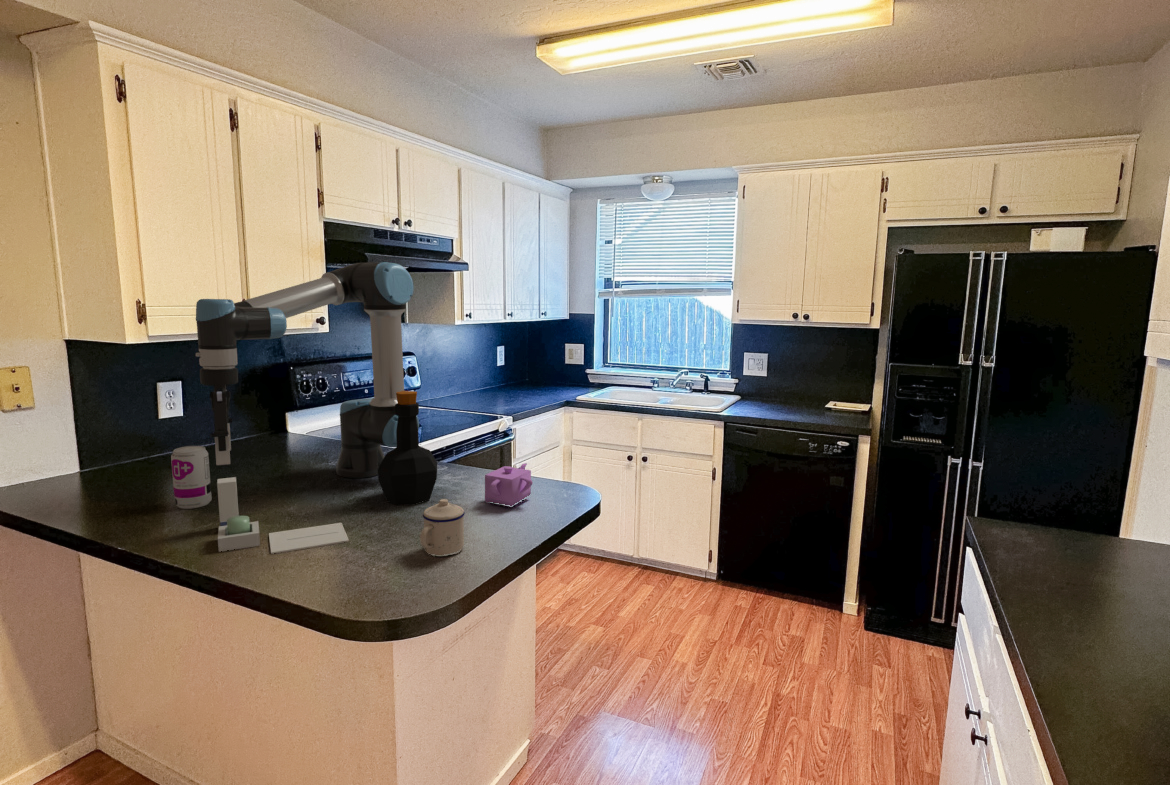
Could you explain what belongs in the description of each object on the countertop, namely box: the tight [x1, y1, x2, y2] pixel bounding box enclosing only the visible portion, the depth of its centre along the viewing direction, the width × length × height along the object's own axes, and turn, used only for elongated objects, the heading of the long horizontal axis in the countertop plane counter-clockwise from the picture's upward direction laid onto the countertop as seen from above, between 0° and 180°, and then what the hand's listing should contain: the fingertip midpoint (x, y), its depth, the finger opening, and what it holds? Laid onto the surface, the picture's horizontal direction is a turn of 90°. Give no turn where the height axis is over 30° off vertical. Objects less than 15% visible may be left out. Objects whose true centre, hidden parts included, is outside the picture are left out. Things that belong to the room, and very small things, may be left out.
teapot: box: [484, 462, 533, 506], centre depth 172 cm, size 18×14×10 cm
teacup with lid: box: [419, 498, 466, 555], centre depth 138 cm, size 12×9×12 cm
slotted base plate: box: [268, 522, 350, 555], centre depth 145 cm, size 16×12×1 cm
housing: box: [217, 520, 261, 553], centre depth 141 cm, size 8×8×3 cm
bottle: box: [377, 390, 438, 506], centre depth 171 cm, size 16×16×30 cm
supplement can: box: [170, 445, 213, 510], centre depth 163 cm, size 8×8×15 cm
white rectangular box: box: [216, 476, 240, 526], centre depth 148 cm, size 4×4×12 cm
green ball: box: [227, 515, 251, 535], centre depth 141 cm, size 4×4×4 cm
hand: (224, 457), depth 146 cm, fingers open, 13 cm apart
